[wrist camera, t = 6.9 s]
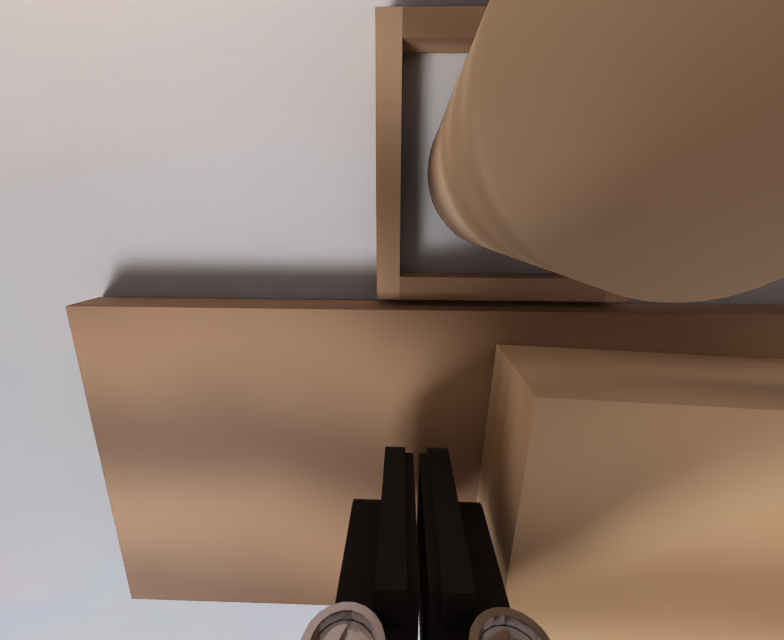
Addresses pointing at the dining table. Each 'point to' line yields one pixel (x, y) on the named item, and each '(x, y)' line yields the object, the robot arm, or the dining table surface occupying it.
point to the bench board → (316, 416)
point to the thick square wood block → (637, 492)
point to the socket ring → (393, 37)
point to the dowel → (622, 143)
